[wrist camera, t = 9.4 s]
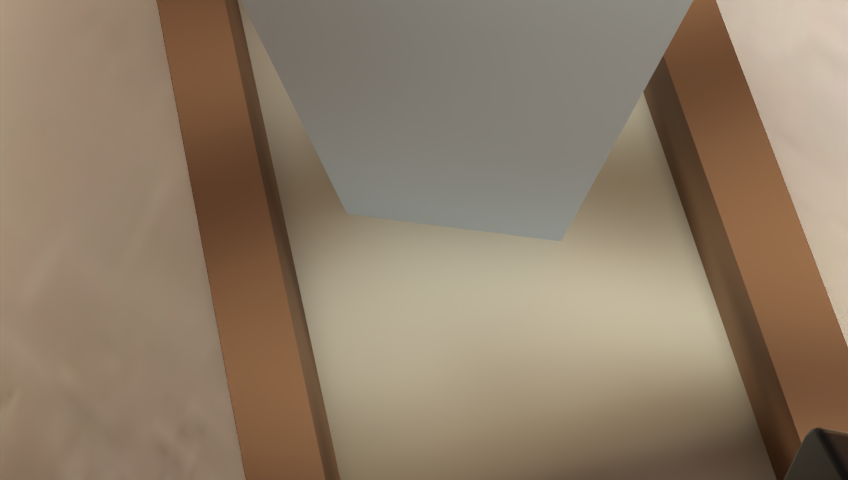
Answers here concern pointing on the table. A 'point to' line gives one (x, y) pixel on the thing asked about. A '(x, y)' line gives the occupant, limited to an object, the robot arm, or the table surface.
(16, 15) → the table surface
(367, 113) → the tall grey pillar block
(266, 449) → the wooden frame
